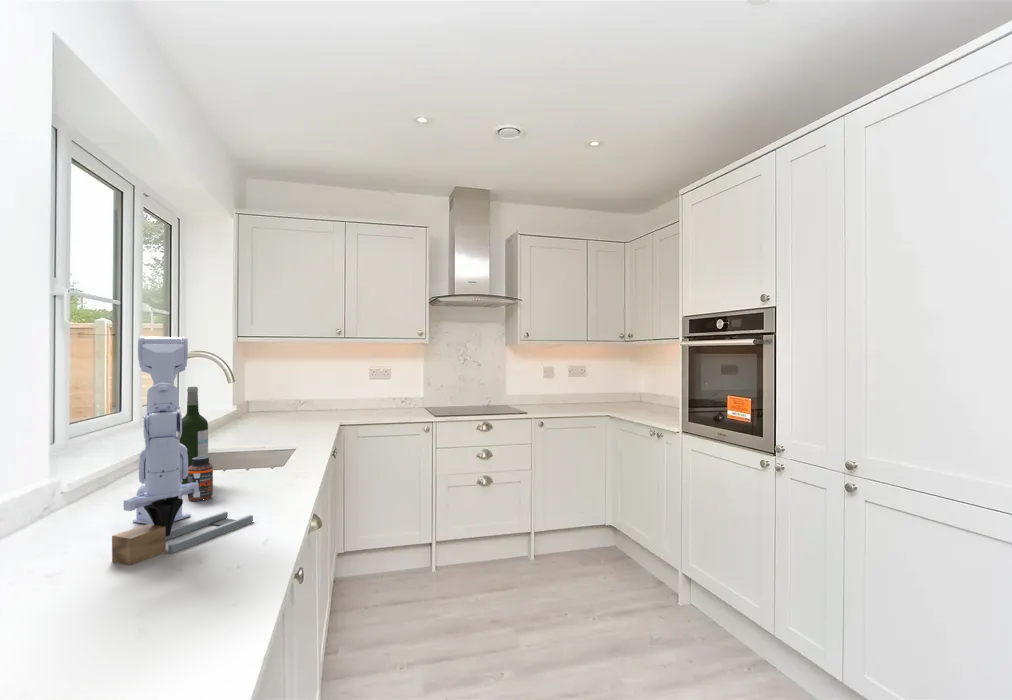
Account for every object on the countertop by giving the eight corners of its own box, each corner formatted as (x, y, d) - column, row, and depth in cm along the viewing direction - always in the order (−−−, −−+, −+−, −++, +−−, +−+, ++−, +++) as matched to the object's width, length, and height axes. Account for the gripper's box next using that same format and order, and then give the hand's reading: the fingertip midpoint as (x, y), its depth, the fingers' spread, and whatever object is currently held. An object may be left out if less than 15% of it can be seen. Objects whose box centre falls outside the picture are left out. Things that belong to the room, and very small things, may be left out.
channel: (141, 547, 106) (140, 540, 106) (224, 517, 125) (224, 511, 125) (171, 553, 103) (171, 545, 103) (252, 521, 121) (252, 515, 121)
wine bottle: (181, 485, 156) (181, 386, 156) (211, 482, 158) (210, 385, 158) (173, 491, 148) (173, 388, 148) (204, 489, 151) (204, 387, 151)
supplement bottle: (201, 502, 138) (201, 460, 138) (182, 501, 139) (182, 459, 139) (217, 496, 143) (217, 455, 143) (199, 495, 145) (199, 455, 145)
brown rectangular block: (112, 561, 99) (112, 535, 99) (148, 548, 105) (148, 524, 105) (130, 565, 97) (129, 538, 97) (165, 551, 104) (165, 526, 104)
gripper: (141, 479, 98) (141, 551, 98) (208, 463, 111) (209, 526, 111) (116, 476, 100) (116, 546, 100) (185, 461, 114) (185, 522, 114)
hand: (163, 535), depth 106 cm, fingers closed
